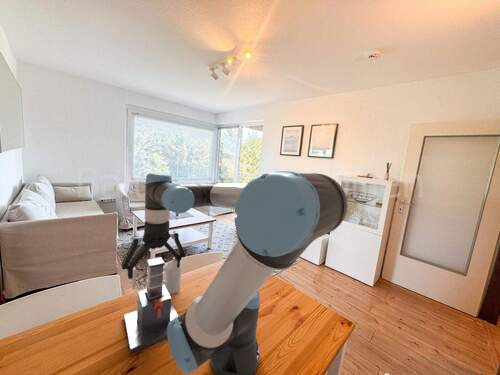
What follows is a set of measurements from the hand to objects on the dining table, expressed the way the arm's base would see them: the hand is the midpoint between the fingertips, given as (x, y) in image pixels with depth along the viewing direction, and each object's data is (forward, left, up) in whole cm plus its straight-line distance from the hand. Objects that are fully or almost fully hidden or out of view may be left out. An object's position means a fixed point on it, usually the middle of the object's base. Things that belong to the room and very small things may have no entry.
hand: (154, 281), depth 71 cm
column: (0, 0, -15) cm, 15 cm away
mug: (+17, -10, -17) cm, 26 cm away
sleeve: (0, 0, -16) cm, 16 cm away
